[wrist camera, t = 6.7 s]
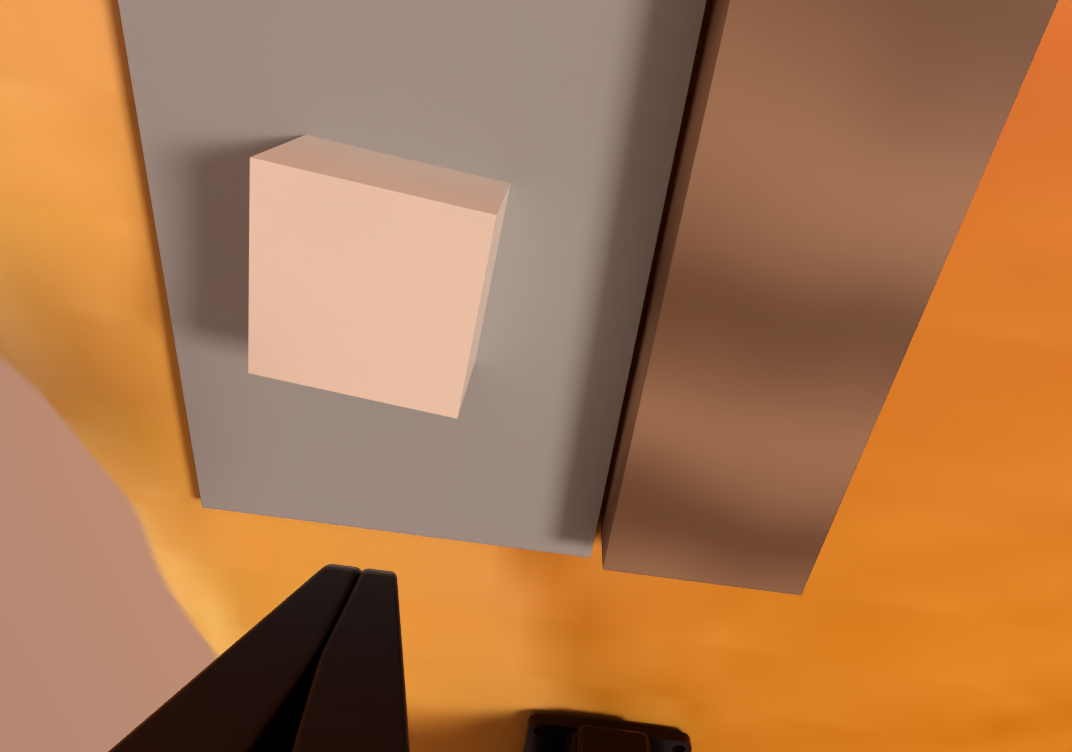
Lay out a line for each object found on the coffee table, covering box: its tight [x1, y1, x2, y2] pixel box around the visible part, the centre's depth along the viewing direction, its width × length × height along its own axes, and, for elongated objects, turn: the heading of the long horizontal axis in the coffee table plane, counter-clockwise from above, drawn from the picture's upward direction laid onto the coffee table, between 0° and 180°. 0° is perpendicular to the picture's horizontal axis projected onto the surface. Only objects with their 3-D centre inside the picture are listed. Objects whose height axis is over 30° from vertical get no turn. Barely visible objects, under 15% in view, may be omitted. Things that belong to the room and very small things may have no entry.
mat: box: [118, 0, 707, 557], centre depth 17 cm, size 18×13×1 cm
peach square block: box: [248, 135, 510, 419], centre depth 16 cm, size 5×5×3 cm
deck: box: [601, 0, 1058, 595], centre depth 17 cm, size 16×6×2 cm, turn 173°
